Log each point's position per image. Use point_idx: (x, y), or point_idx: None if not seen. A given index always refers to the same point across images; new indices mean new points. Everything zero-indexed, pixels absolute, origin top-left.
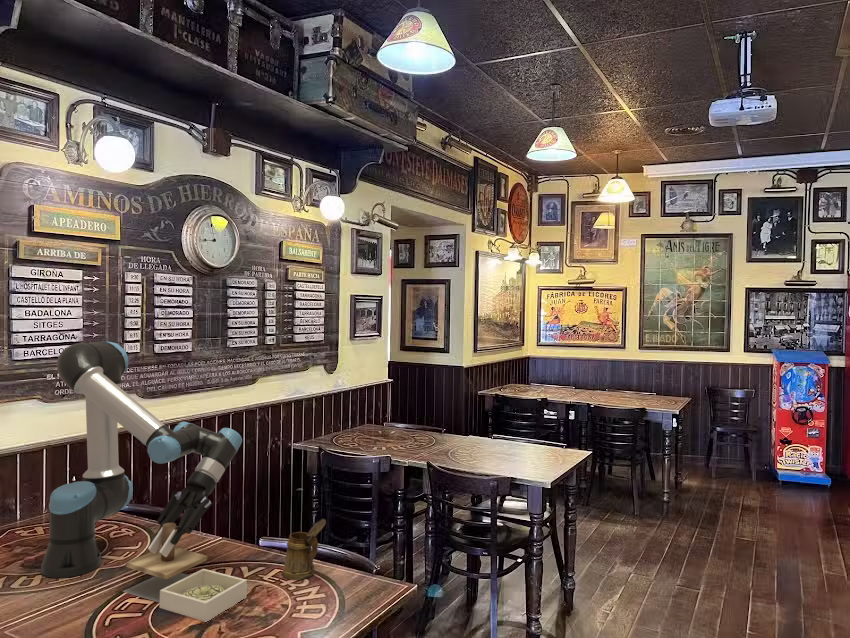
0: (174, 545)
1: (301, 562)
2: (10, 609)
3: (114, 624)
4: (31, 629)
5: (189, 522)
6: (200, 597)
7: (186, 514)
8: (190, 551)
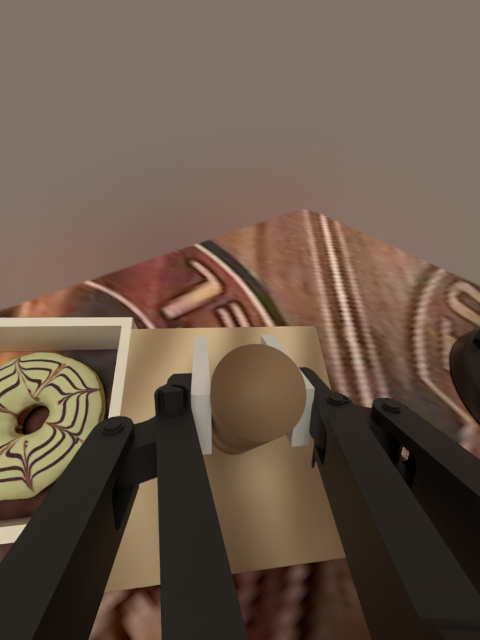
0: (211, 431)
1: None
2: (371, 239)
3: (181, 267)
4: (282, 217)
5: (79, 469)
6: (7, 374)
7: (172, 533)
8: None
